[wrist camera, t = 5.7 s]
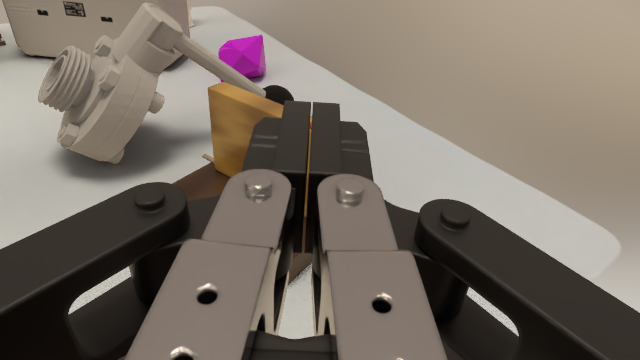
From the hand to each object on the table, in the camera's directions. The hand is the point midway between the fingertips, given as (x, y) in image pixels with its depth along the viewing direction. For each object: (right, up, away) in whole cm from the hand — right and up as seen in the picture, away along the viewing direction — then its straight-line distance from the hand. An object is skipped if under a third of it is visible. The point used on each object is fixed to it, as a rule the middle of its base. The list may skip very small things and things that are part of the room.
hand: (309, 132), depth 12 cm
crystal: (-10, +12, +44) cm, 47 cm away
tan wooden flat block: (-4, -2, +21) cm, 22 cm away
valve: (-13, +3, +31) cm, 34 cm away
